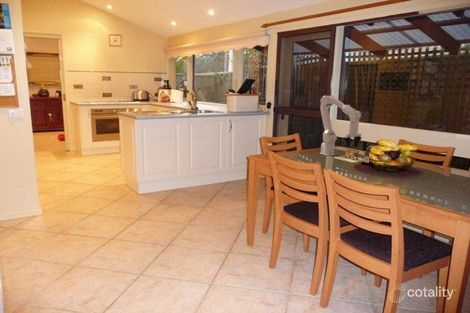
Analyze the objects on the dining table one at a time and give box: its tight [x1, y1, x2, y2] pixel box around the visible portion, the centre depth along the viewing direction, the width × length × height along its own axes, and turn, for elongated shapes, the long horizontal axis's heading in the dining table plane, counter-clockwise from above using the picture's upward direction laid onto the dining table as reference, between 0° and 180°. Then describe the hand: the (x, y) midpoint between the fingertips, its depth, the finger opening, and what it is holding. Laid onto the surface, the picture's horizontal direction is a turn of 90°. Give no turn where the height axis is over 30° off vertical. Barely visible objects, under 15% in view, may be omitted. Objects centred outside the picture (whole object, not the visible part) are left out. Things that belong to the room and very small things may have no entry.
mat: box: [333, 155, 363, 164], centre depth 249 cm, size 18×16×1 cm
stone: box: [360, 145, 376, 164], centre depth 235 cm, size 14×10×15 cm
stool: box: [344, 148, 360, 160], centre depth 248 cm, size 8×5×6 cm, turn 28°
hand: (351, 147), depth 248 cm, fingers open, 7 cm apart
